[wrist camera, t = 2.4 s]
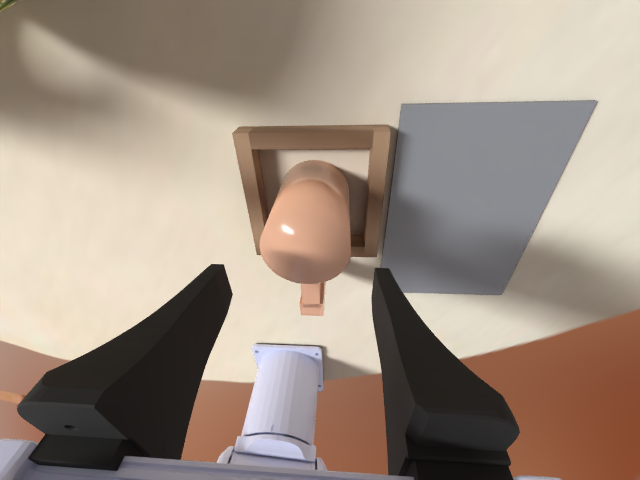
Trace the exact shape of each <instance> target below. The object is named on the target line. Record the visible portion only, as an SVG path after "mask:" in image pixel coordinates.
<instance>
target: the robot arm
mask: <svg viewBox="0 0 640 480" xmlns="http://www.w3.org/2000/svg"><path fill="white" fill-rule="evenodd" d="M232 295H233V294H232V291H231V287H230V284H229V281H228V277H227V274H226V271H225V267H224V264H211V265H210V266H209V267H207V268H206V269H205V270H204V271H203V272H202V273H201V274H200V275H199V276H197V277H196V278H195V279H194V280H193V281H192V282H191V283H190V284H188V285H187V286H186V287H185V288H184V289H183V290H182V291H180V292H179V293H178V294H177V295H176V296H174V297H173V298H172V299H171V300H169V301H168V302H167V303H166V304H164V305H163V306H162V307H161V308H160V309H158V310H157V311H156V312H154V313H153V314H151V315H150V316H149V317H147V318H146V319H144V320H143V321H141V322H140V323H138V324H137V325H135V326H134V327H132V328H131V329H129V330H127V331H126V332H124V333H122V334H121V335H119V336H117V337H116V338H114V339H113V340H111V341H109V342H107V343H105V344H104V345H102V346H100V347H98V348H96V349H94V350H92V351H90V352H89V353H87V354H85V355H83V356H81V357H79V358H76V359H74V360H72V361H70V362H68V363H66V364H64V365H61V366H59V367H57V368H55V369H53V370H51V371H48V372H46V374H45V375H44V376H43V377H42V378H41V379H40V381H39V382H38V383H37V384H36V385H35V386H34V387H33V389H32V390H31V391H30V392H29V393H28V394H27V395H26V396H25V398H24V399H23V400H22V401H21V402H20V403H19V405H18V407H17V411H18V413H19V415H20V416H21V417H22V418H23V419H25V420H26V421H27V422H29V423H30V424H32V425H33V426H35V427H36V428H37V429H39V430H40V431H42V432H43V433H45V436H44V437H43V439H42V440H41V441H40V443H37V442H34V441H29V440H17V439H4V438H3V439H0V480H561V479H559V478H554V477H539V476H516V477H513V478H512V475H511V472H510V470H509V467H508V466H510V465H511V462H510V458H509V456H508V453H507V451H506V450H507V448H508V447H509V446H510V445H511V444H512V443H513V442H514V441H515V440H516V438H517V437H518V435H519V433H520V432H519V427H518V425H517V422H516V420H515V418H514V416H513V414H512V412H511V410H510V408H509V407H508V405H507V403H506V402H505V399H504V398H503V396H502V395H501V394H499V393H498V392H497V391H496V390H494V389H493V388H492V387H490V386H489V385H488V384H487V383H485V382H484V381H483V380H481V379H480V378H479V377H477V376H476V375H475V374H474V373H473V372H472V371H470V370H469V369H468V368H467V367H466V366H465V365H464V364H463V363H462V362H461V361H460V360H459V359H458V358H457V357H456V356H454V355H453V354H452V353H451V352H450V351H449V350H448V349H447V348H446V347H445V346H444V345H443V344H442V343H441V341H440V340H439V339H438V338H437V337H436V336H435V335H434V334H433V333H432V332H431V330H430V329H429V328H428V327H427V326H426V324H425V323H424V322H423V321H422V319H421V318H420V317H419V315H418V314H417V313H416V311H415V310H414V309H413V307H412V306H411V304H410V303H409V301H408V300H407V298H406V297H405V295H404V294H403V292H402V291H401V289H400V287H399V285H398V284H397V282H396V280H395V278H394V276H393V274H392V272H391V270H390V269H389V268H375V272H374V281H373V290H372V314H373V323H374V328H375V334H376V340H377V346H378V351H379V357H380V363H381V370H382V380H383V393H384V406H385V420H386V437H387V453H388V472H389V473H388V474H389V475H379V474H365V473H352V472H338V471H327V468H326V466H325V464H324V463H323V460H322V459H321V458H316V446H313V444H314V430H315V417H316V403H317V391H319V392H320V391H323V365H322V349H321V348H320V347H316V346H292V345H269V344H254V345H253V347H252V350H253V354H254V357H255V360H256V364H257V367H258V372H257V376H256V380H255V384H254V388H253V391H252V396H251V399H250V404H249V407H248V411H247V415H246V419H245V423H244V427H243V431H242V435H241V436H238V437H237V441H236V445H235V447H233V446H229V447H228V448H227V449H226V450H225V451H224V452H223V453H222V454H221V455H220V457H219V458H218V461H217V463H216V462H202V461H187V460H181V455H182V451H183V447H184V442H185V437H186V434H187V429H188V425H189V421H190V418H191V414H192V410H193V406H194V402H195V399H196V395H197V392H198V388H199V385H200V382H201V379H202V375H203V372H204V369H205V366H206V363H207V360H208V358H209V355H210V353H211V351H212V348H213V346H214V344H215V341H216V339H217V337H218V334H219V332H220V330H221V327H222V325H223V323H224V320H225V318H226V315H227V313H228V309H229V306H230V302H231V298H232Z"/></svg>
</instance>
